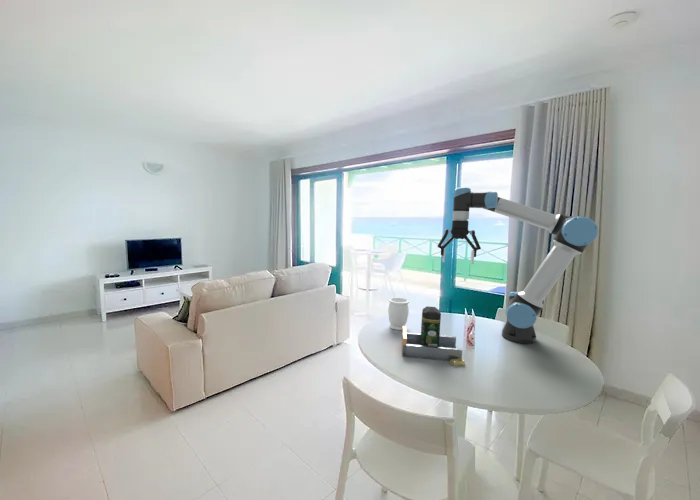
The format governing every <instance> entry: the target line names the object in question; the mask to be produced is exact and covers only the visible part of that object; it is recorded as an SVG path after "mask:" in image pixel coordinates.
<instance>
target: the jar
mask: <svg viewBox="0 0 700 500" xmlns="http://www.w3.org/2000/svg"><path fill="white" fill-rule="evenodd" d="M388 302H389V303H388V304H389V305H388V309H387V311H388V321H389V323H390V325H389V328H390V329H393V330H397V331H402V330H403V326H406V325H407V322H408V317H409V303H410V300H409V299H406V298H404V297H391V298H389V299H388Z"/></svg>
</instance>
